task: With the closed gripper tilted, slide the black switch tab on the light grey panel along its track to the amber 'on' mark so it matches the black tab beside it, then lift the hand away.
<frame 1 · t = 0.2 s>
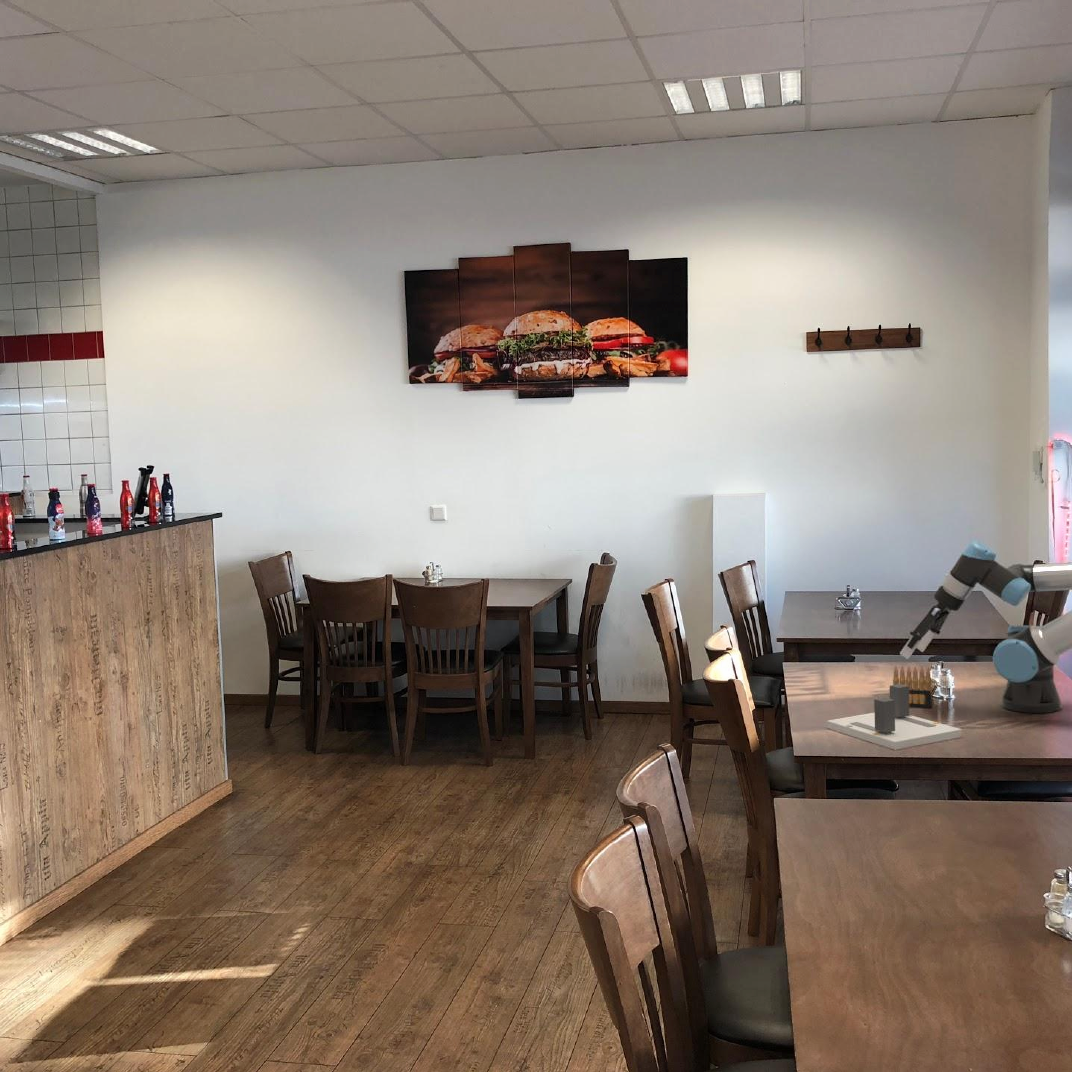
hand: (911, 652, 319), 16 cm above the table, tool tilted 35°, fingers open, 13 cm apart
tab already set: (884, 715, 287), point 7 cm above the table, slide at 10.0 cm
ammunition clip: (912, 707, 321), on the table
switch panel: (892, 732, 295), on the table
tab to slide: (899, 700, 302), point 7 cm above the table, slide at 0.0 cm
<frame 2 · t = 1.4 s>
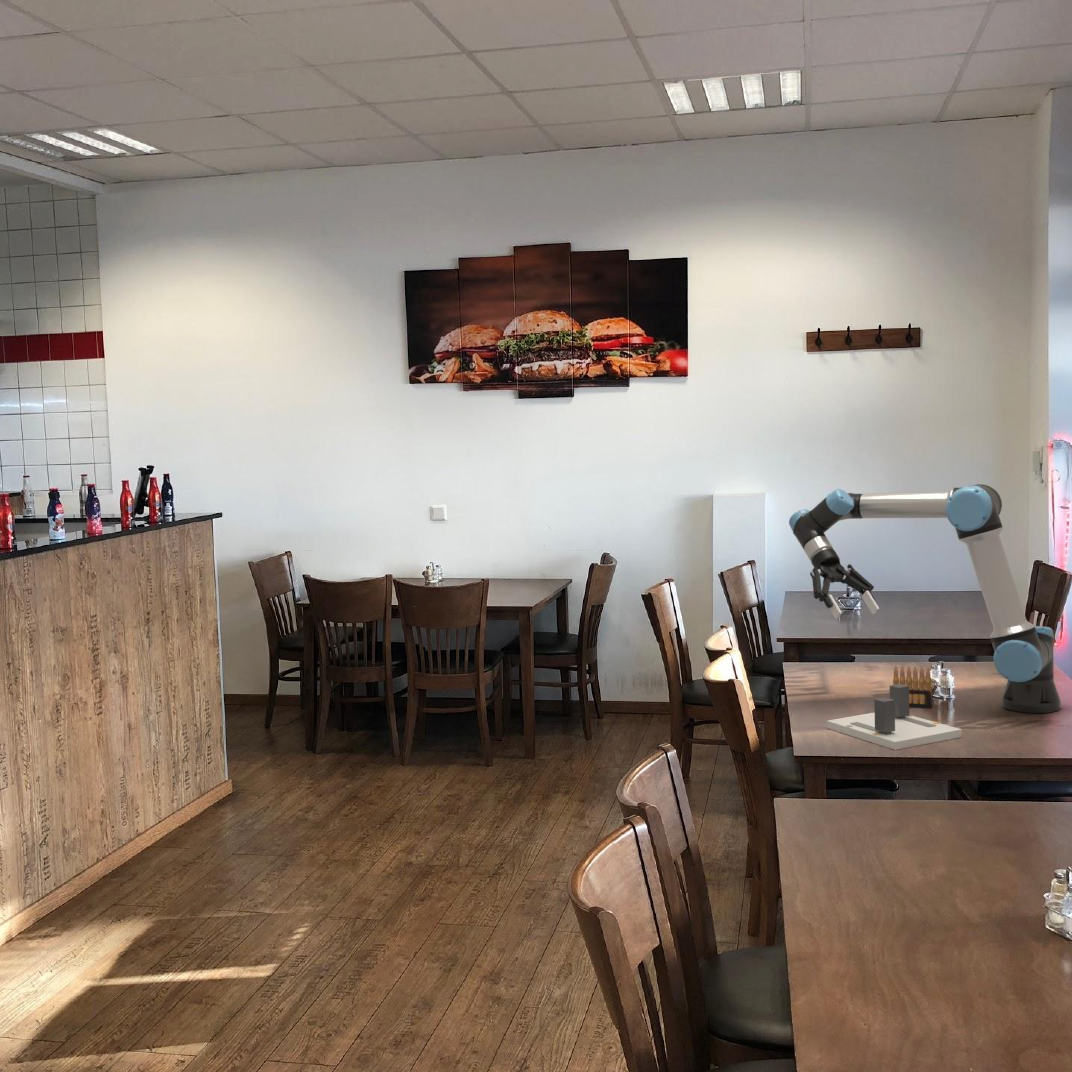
hand: (857, 613, 315), 28 cm above the table, tool tilted 45°, fingers open, 12 cm apart
nothing on the table moved.
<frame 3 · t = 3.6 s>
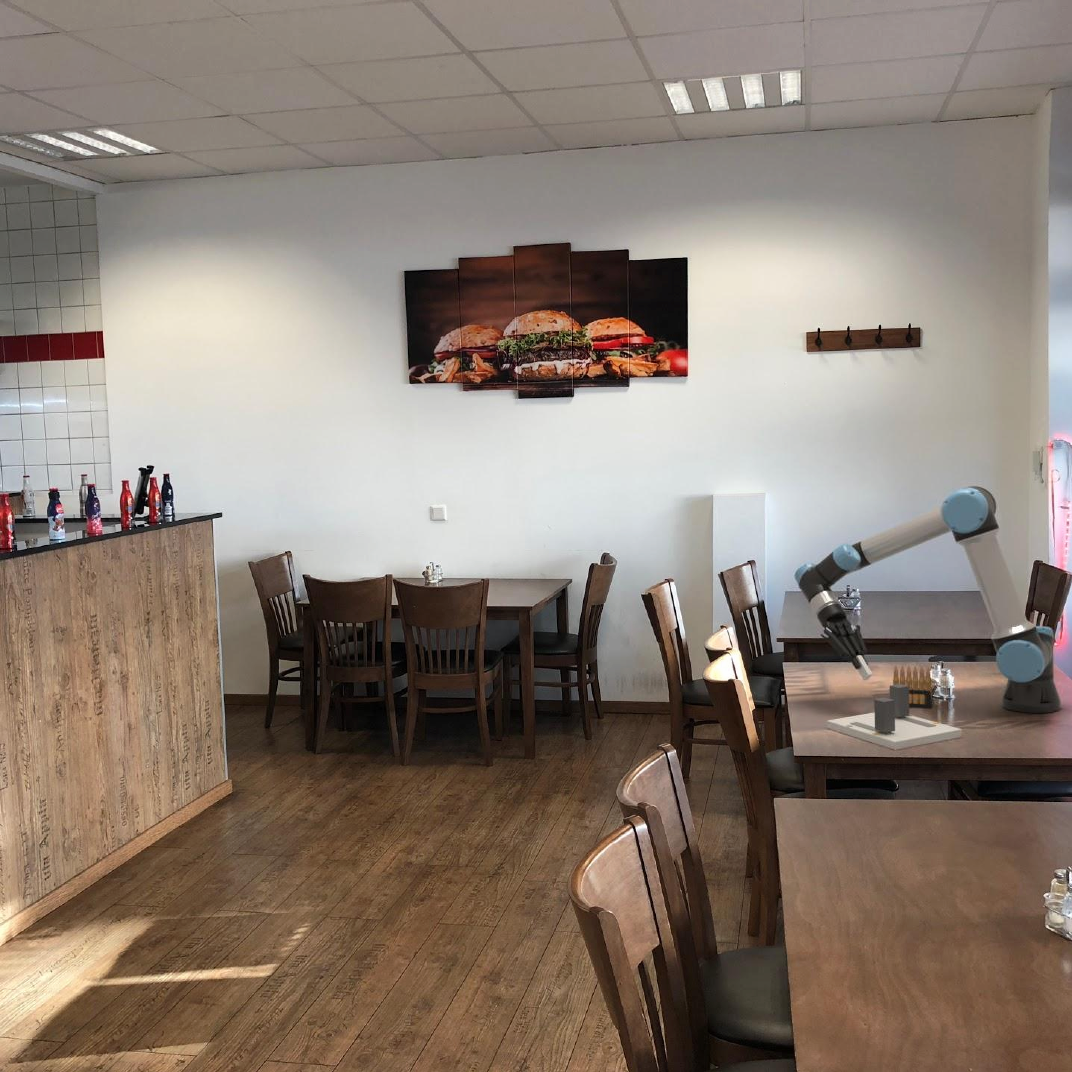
hand: (868, 677, 312), 11 cm above the table, tool tilted 45°, fingers closed
nothing on the table moved.
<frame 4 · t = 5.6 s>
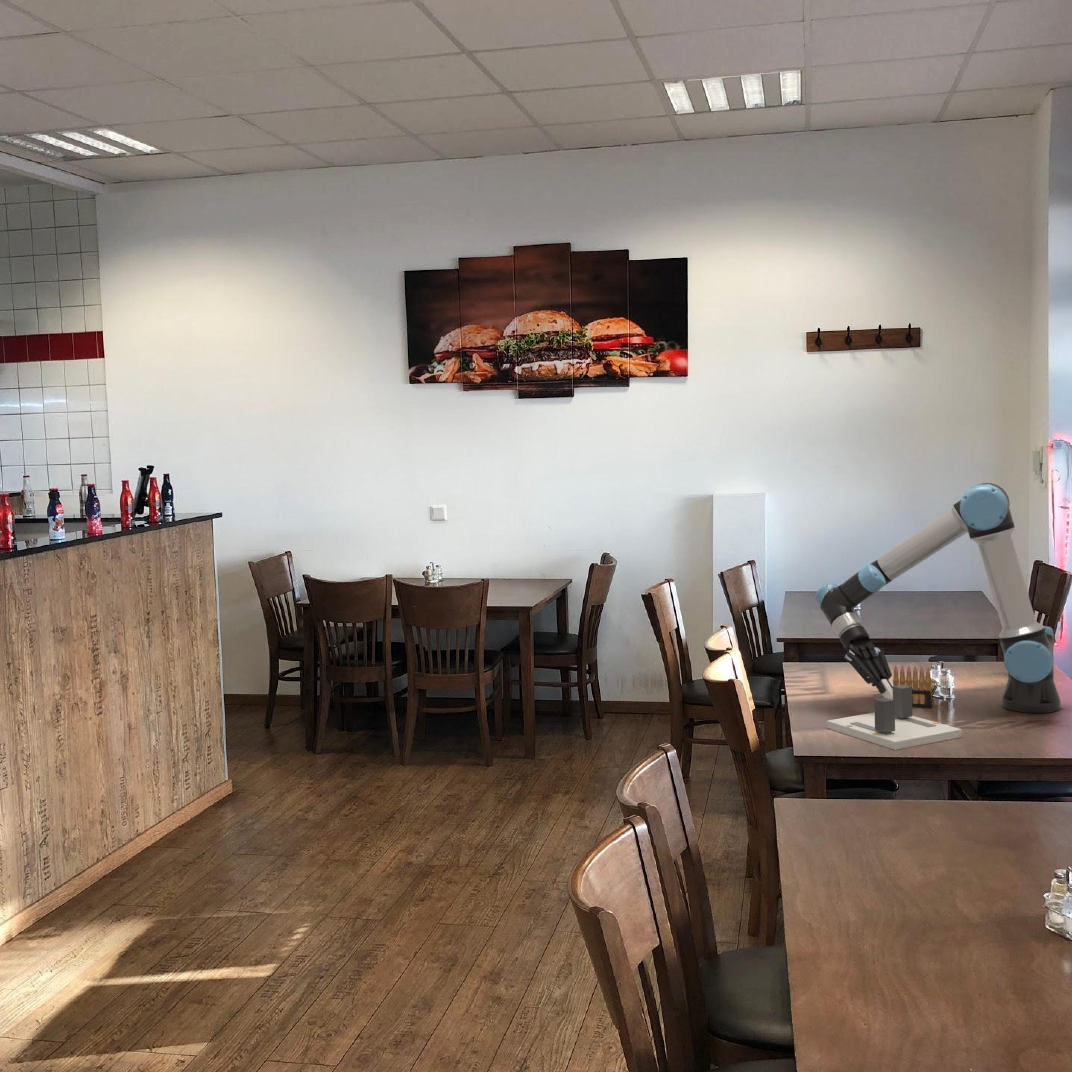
hand: (893, 701, 303), 6 cm above the table, tool tilted 45°, fingers closed
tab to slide: (902, 701, 301), point 7 cm above the table, slide at 1.2 cm, touching gripper
everything else where it was.
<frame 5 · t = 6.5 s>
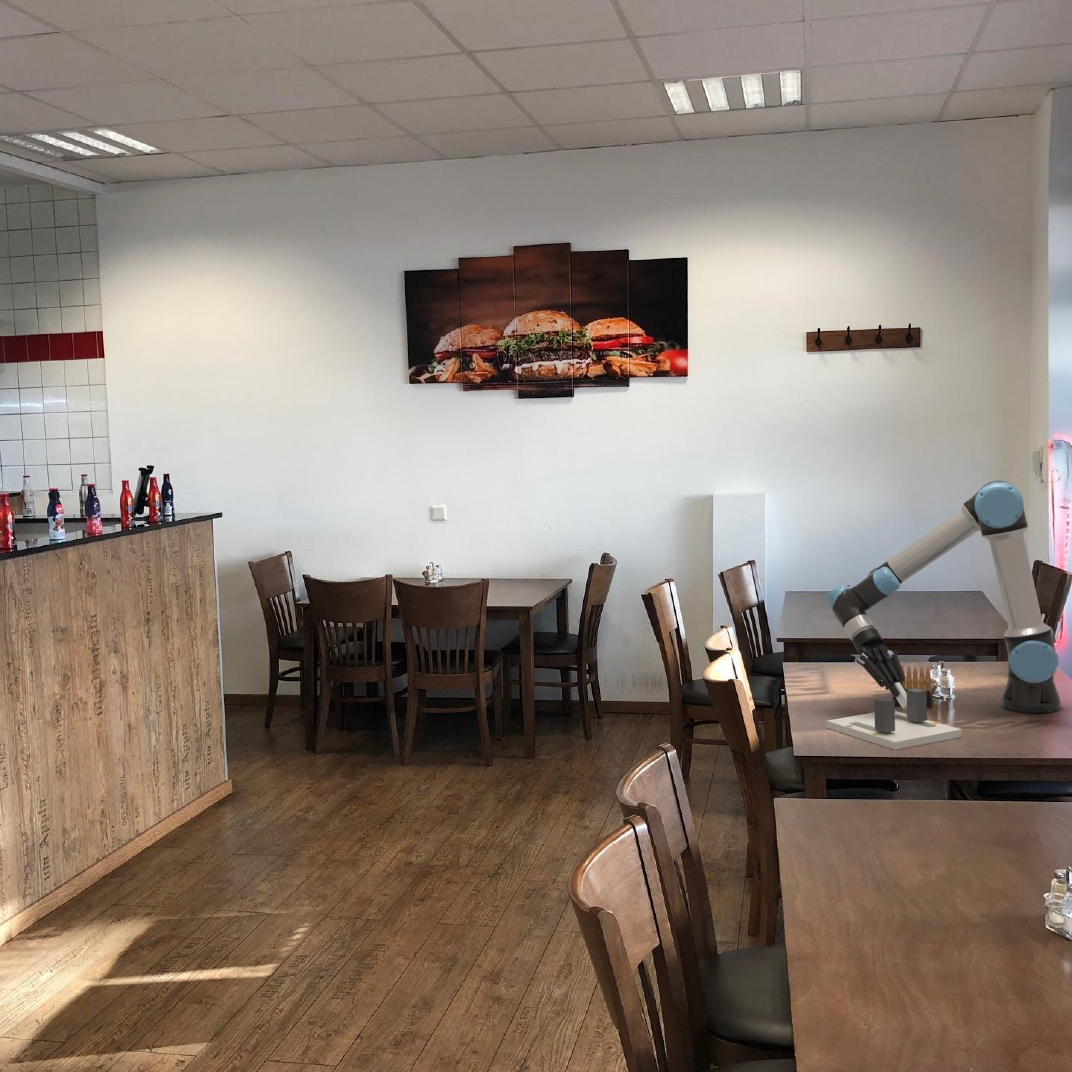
hand: (907, 705, 298), 6 cm above the table, tool tilted 45°, fingers closed
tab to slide: (916, 705, 296), point 7 cm above the table, slide at 6.4 cm, touching gripper
everything else where it was.
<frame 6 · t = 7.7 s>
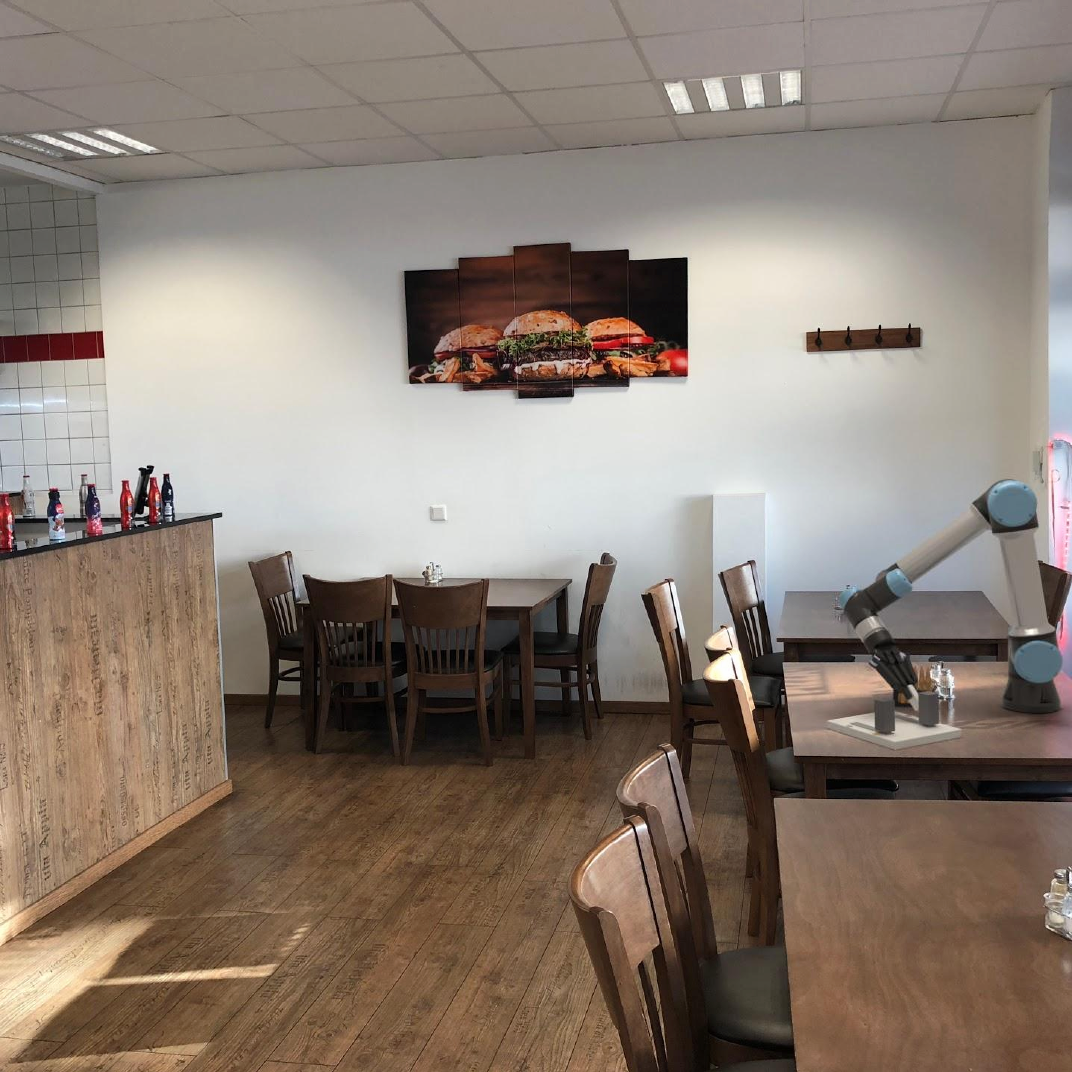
hand: (920, 708, 295), 6 cm above the table, tool tilted 45°, fingers closed
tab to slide: (928, 708, 292), point 7 cm above the table, slide at 10.7 cm, touching gripper
everything else where it was.
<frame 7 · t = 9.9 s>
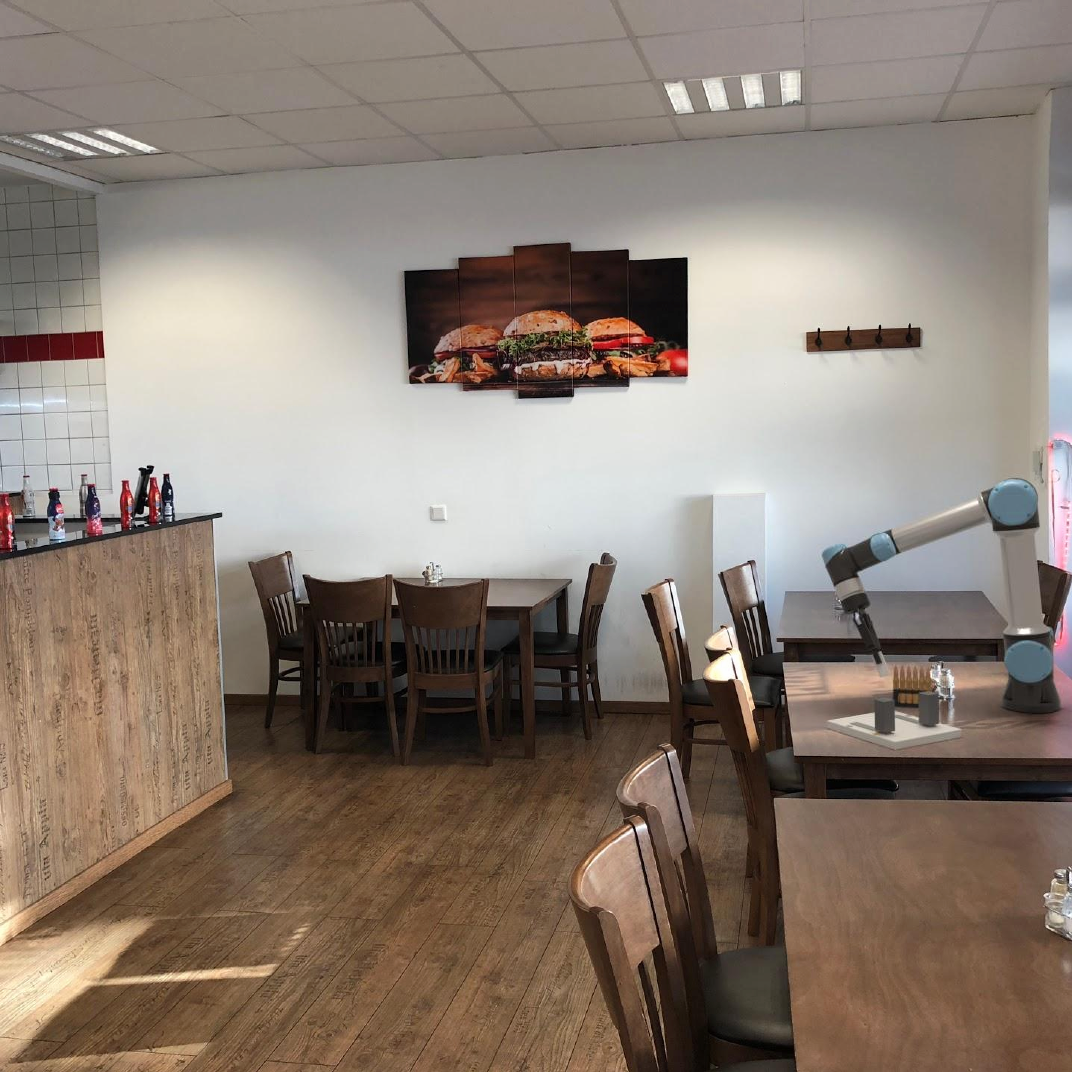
hand: (885, 675, 309), 12 cm above the table, tool tilted 30°, fingers closed
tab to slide: (928, 708, 292), point 7 cm above the table, slide at 10.7 cm
everything else where it was.
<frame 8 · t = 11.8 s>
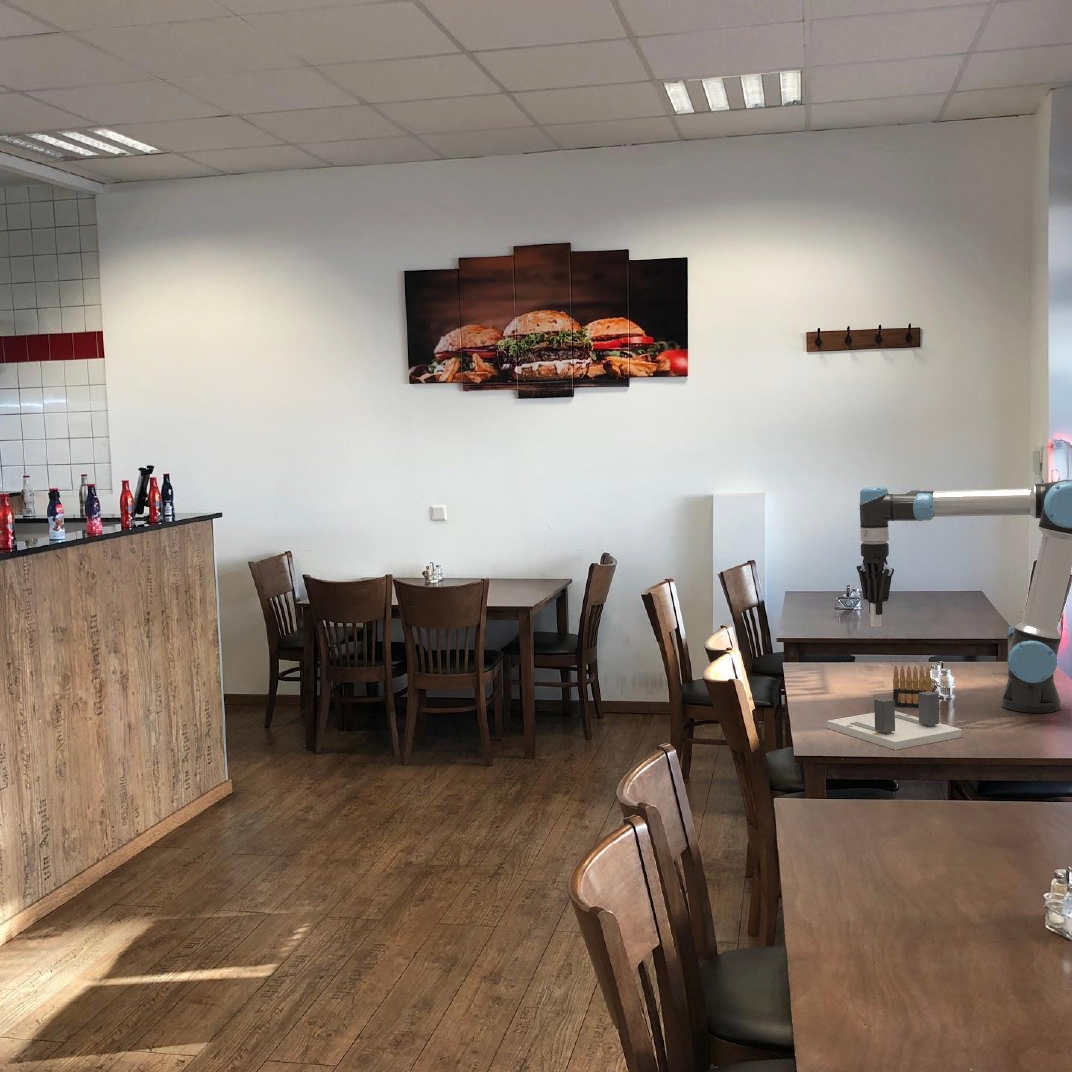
hand: (876, 625, 316), 24 cm above the table, tool pointing down, fingers closed
nothing on the table moved.
at the end: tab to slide slide at 10.7 cm; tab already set slide at 10.0 cm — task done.
